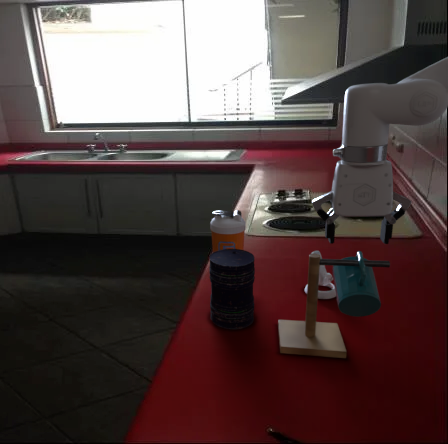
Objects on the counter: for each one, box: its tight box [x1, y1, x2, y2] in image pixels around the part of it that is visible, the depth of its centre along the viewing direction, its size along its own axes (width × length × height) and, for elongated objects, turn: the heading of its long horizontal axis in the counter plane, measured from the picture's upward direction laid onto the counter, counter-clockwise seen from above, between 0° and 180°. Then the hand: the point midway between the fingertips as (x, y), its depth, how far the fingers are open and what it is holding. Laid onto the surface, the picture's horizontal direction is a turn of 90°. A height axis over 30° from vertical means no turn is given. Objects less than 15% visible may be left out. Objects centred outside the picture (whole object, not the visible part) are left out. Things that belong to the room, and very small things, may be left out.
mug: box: [332, 250, 382, 318], centre depth 80 cm, size 11×7×9 cm
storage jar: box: [208, 249, 256, 330], centre depth 93 cm, size 10×10×15 cm
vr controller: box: [304, 250, 337, 300], centre depth 105 cm, size 8×12×7 cm
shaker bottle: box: [209, 209, 247, 253], centre depth 108 cm, size 9×9×20 cm
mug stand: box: [277, 253, 391, 359], centre depth 81 cm, size 19×10×19 cm, turn 78°
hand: (357, 241), depth 82 cm, fingers open, 9 cm apart
